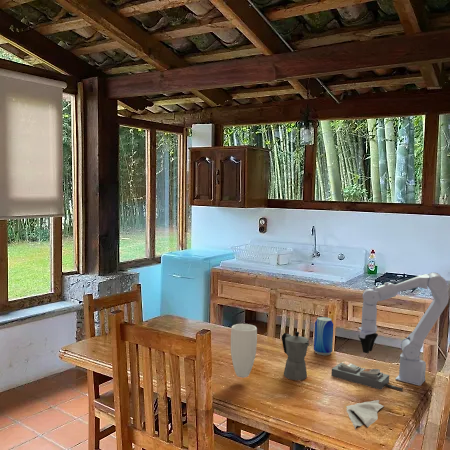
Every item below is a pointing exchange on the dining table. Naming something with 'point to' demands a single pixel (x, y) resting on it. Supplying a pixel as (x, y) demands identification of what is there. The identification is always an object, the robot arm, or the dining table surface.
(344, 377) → the power strip
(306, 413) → the dining table surface
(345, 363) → the rocker outer
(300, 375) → the coffeepot
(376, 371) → the rocker inner
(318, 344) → the beer can
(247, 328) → the cup
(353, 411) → the cloth
